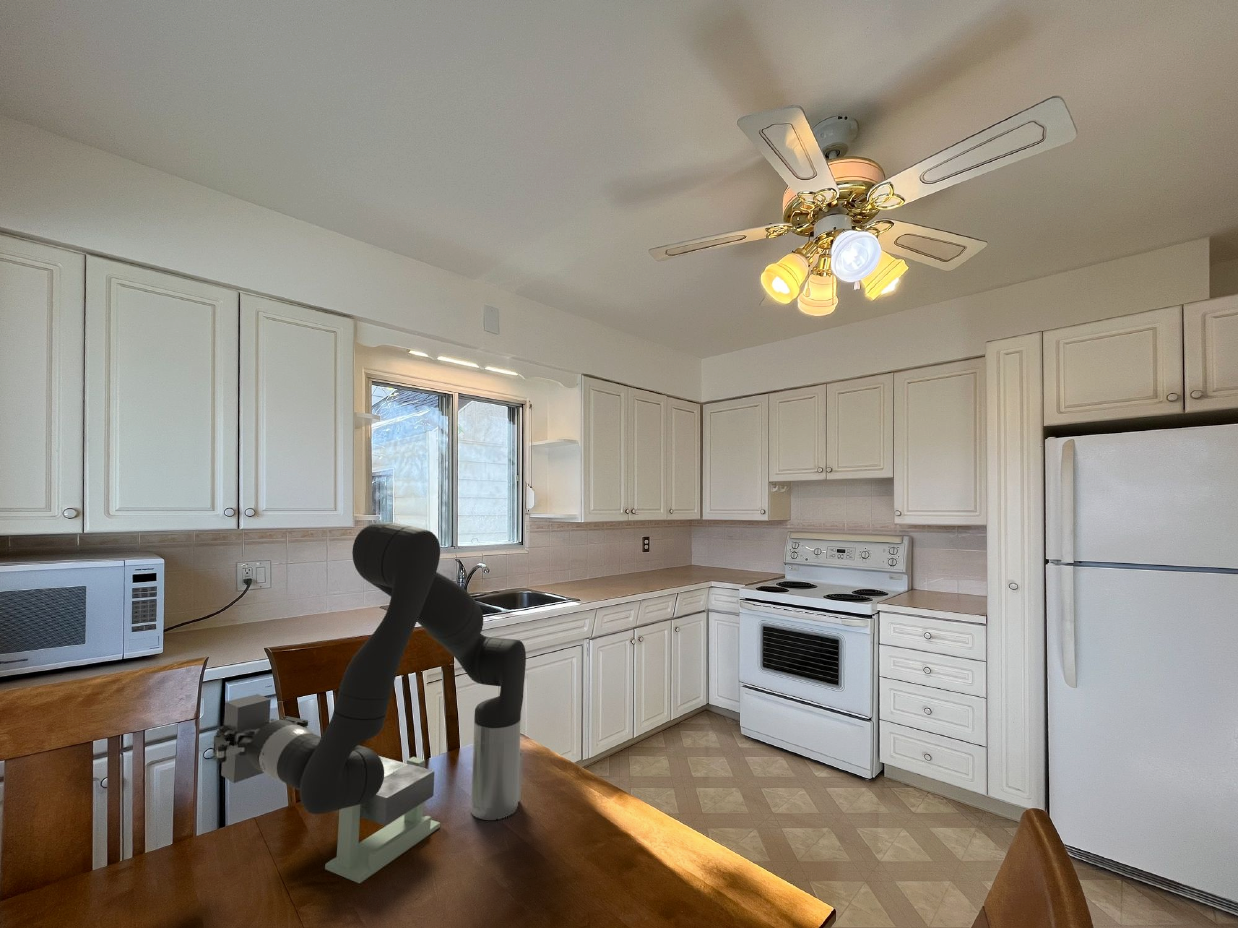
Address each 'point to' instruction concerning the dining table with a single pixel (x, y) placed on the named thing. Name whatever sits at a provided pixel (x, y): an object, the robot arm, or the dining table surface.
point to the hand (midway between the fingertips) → (239, 727)
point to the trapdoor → (398, 792)
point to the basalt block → (248, 716)
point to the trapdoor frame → (377, 840)
